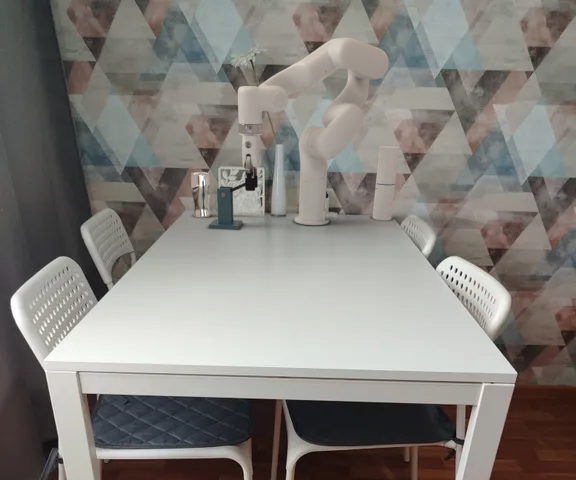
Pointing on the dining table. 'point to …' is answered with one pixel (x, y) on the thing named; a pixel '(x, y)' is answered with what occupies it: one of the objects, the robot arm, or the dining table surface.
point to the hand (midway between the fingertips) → (251, 188)
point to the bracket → (225, 211)
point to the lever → (237, 187)
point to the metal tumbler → (201, 193)
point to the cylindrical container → (385, 182)
